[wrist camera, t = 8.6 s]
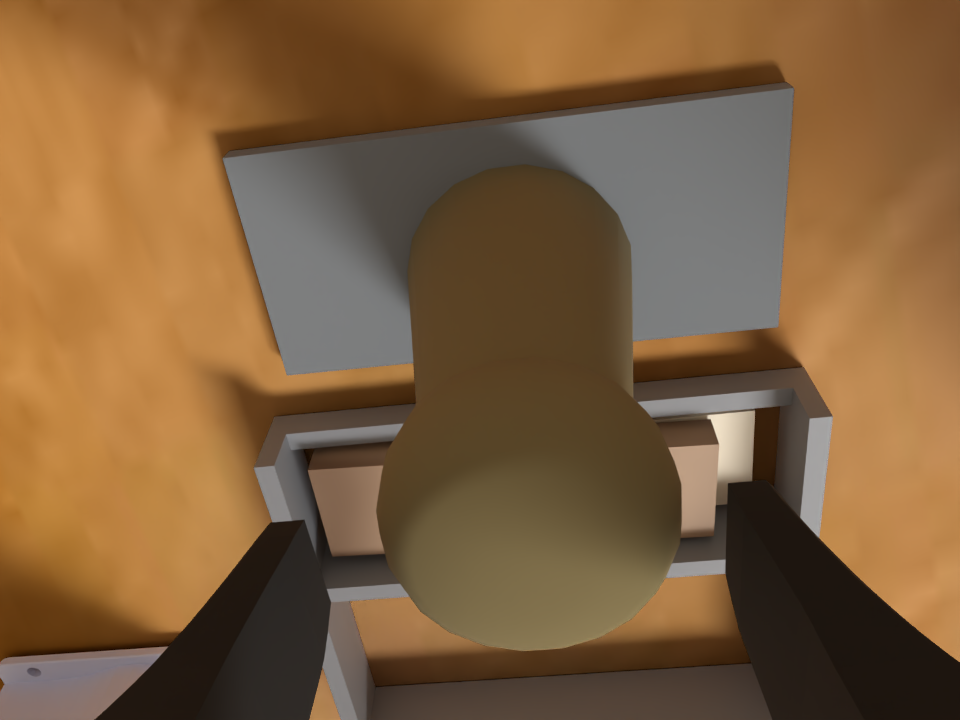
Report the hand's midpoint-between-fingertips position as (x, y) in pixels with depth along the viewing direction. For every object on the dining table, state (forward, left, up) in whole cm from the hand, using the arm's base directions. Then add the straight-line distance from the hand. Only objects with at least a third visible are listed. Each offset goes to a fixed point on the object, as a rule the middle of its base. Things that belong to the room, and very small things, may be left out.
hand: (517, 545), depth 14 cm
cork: (0, +1, -10) cm, 10 cm away
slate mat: (0, +1, -10) cm, 10 cm away
